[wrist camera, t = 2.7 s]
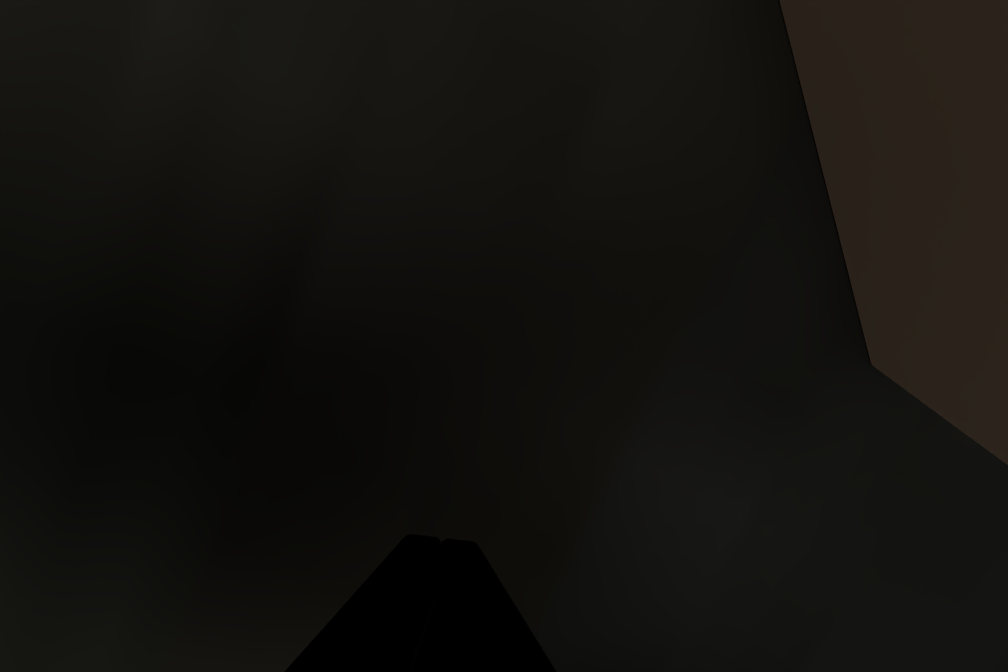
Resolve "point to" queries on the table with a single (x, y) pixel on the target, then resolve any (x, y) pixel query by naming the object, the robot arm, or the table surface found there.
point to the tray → (919, 188)
